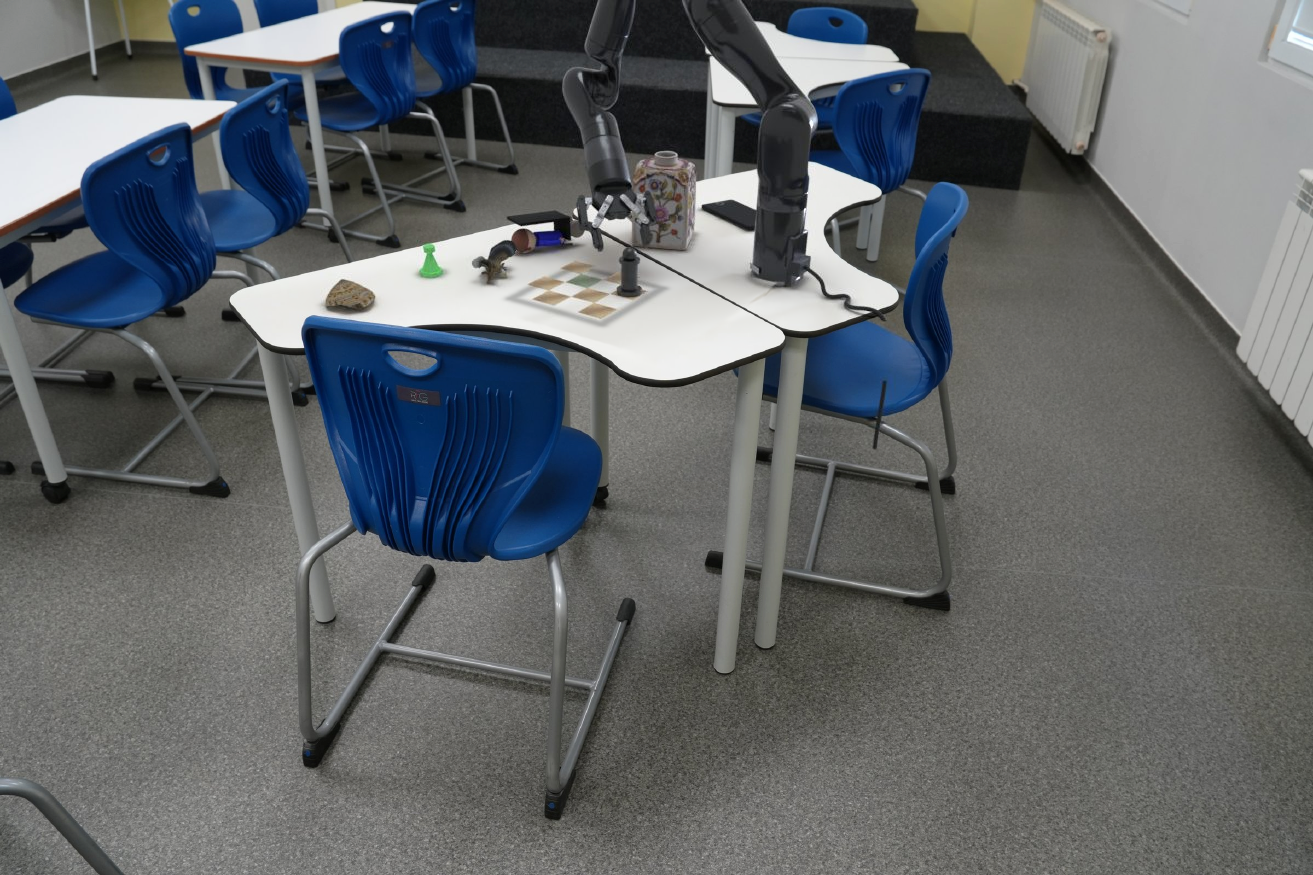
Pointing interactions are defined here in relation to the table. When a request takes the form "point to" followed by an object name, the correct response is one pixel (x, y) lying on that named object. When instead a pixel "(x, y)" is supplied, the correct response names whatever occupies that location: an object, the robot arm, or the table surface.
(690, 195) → the decorative jar
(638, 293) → the black chess piece
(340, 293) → the brown rock
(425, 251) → the game piece
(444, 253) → the table surface
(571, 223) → the figurine character
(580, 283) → the chess board
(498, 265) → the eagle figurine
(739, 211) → the cell phone
